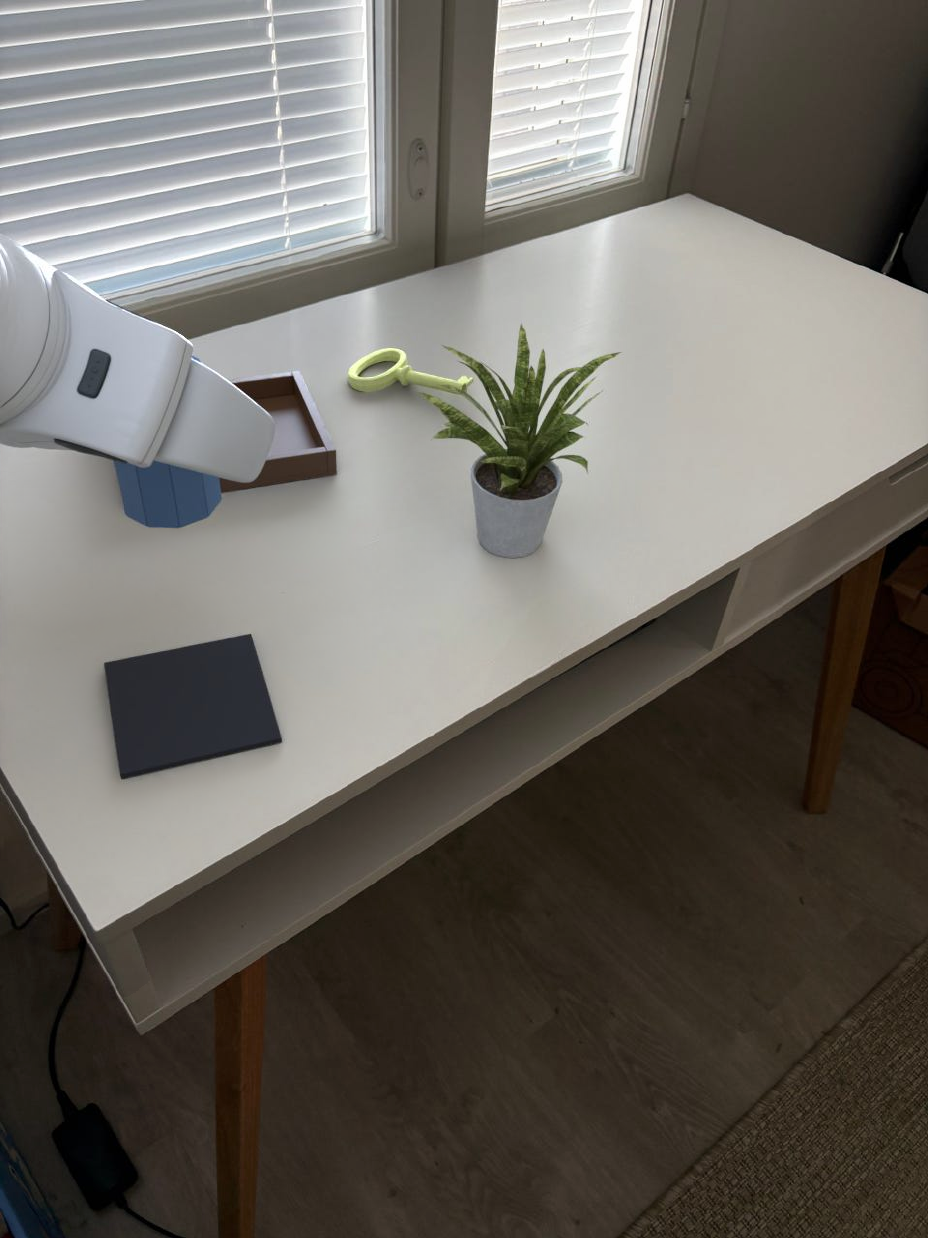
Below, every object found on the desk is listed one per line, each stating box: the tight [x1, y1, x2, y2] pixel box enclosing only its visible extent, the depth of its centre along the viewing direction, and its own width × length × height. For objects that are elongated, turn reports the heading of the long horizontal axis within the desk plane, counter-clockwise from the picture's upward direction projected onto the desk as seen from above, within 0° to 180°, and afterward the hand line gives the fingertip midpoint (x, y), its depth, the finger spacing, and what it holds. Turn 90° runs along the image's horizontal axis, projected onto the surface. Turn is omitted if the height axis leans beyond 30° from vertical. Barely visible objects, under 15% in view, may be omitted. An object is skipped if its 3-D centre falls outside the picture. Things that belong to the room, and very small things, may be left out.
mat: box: [103, 633, 283, 780], centre depth 67 cm, size 10×10×1 cm
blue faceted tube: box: [113, 355, 223, 529], centre depth 61 cm, size 6×6×9 cm
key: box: [347, 347, 474, 396], centre depth 98 cm, size 7×12×2 cm, turn 80°
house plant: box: [418, 323, 623, 559], centre depth 77 cm, size 14×14×16 cm
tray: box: [219, 370, 338, 493], centre depth 88 cm, size 18×14×2 cm
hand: (168, 428), depth 61 cm, fingers closed on blue faceted tube, 6 cm apart
